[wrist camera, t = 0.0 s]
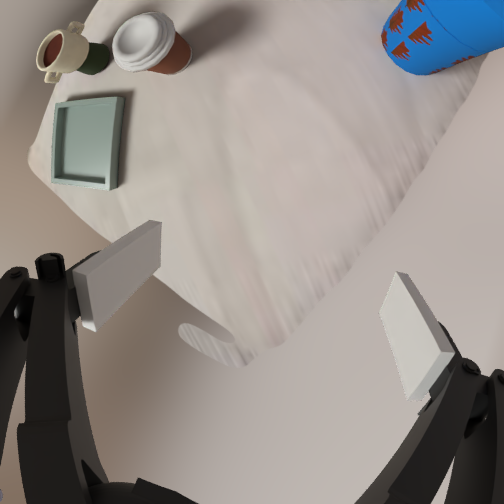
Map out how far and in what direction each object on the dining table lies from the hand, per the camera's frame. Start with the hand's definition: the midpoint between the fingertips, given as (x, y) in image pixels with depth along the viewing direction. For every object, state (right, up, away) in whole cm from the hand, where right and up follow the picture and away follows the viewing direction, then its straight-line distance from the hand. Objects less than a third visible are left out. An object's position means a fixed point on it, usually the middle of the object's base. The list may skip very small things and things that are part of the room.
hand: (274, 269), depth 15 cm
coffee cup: (-13, +31, +20) cm, 40 cm away
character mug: (-29, +36, +21) cm, 51 cm away
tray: (-31, +21, +28) cm, 47 cm away
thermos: (+23, +32, +14) cm, 42 cm away
